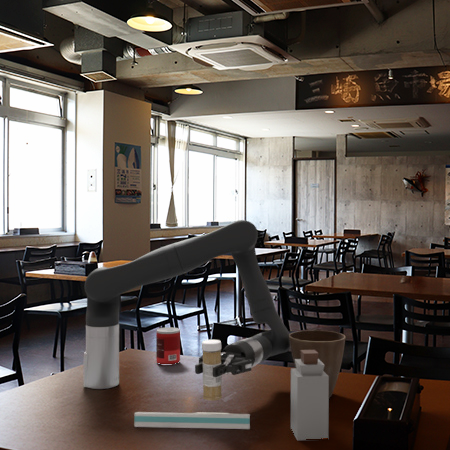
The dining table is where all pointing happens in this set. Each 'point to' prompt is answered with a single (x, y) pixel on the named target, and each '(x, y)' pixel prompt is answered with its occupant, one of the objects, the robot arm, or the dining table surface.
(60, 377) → the dining table surface
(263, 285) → the robot arm
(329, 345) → the plant pot
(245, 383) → the dining table surface
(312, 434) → the perfume bottle
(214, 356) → the sprinkles bottle
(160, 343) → the canned food
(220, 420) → the rail
